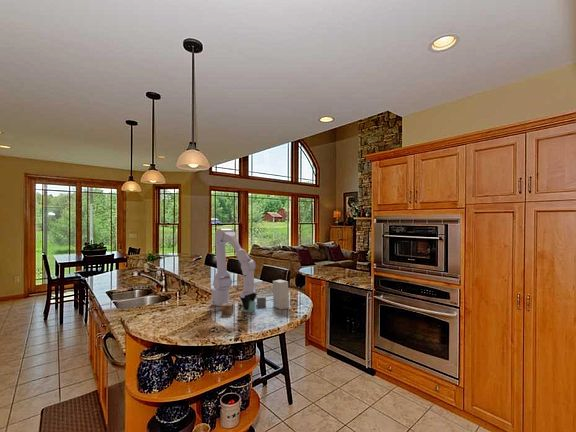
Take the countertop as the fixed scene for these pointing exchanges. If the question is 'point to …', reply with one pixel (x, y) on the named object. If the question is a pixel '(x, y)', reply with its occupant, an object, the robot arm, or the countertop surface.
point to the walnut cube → (227, 308)
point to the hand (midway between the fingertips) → (248, 308)
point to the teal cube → (251, 307)
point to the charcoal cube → (261, 301)
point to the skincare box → (280, 294)
